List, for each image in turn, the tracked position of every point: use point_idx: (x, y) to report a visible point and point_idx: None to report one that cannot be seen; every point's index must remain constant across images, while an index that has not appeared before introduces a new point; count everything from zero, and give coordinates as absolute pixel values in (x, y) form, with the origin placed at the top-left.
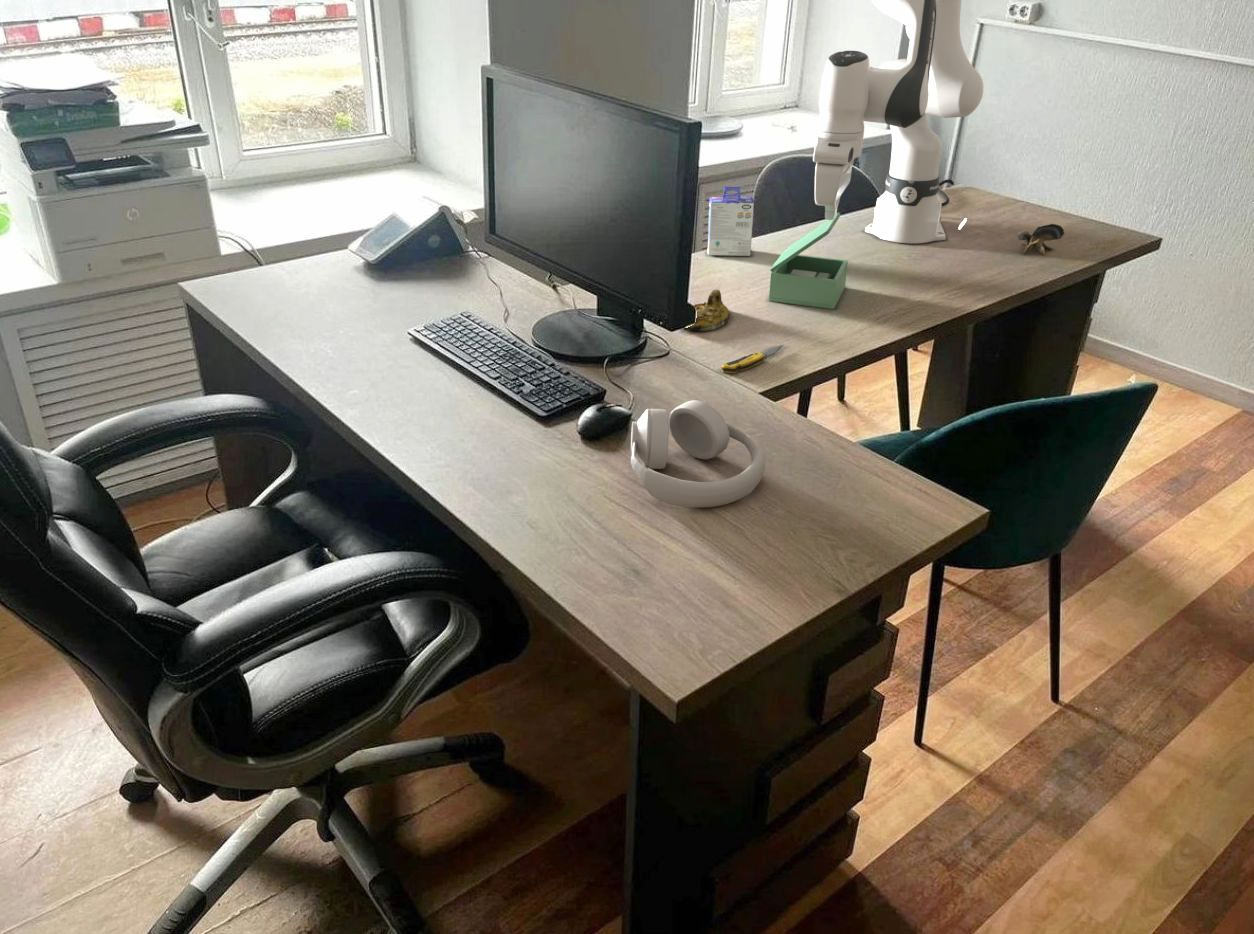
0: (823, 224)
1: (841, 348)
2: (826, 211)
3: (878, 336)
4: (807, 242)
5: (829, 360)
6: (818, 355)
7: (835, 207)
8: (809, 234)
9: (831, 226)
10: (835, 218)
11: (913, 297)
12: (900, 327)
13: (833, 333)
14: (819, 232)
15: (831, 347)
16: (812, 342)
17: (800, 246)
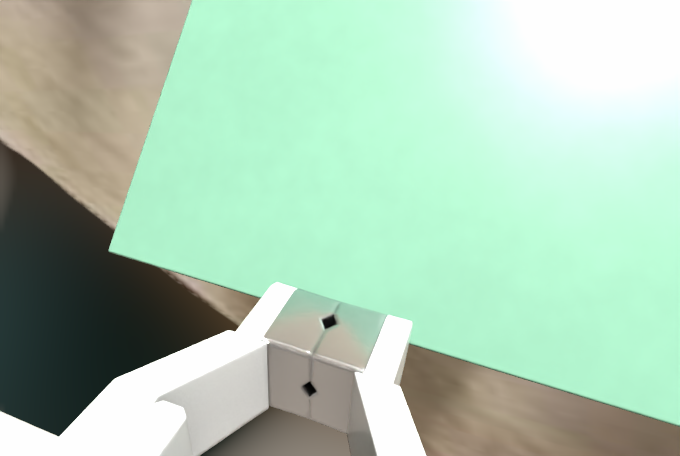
0: (593, 235)
1: (72, 154)
2: (244, 331)
3: None
4: (226, 86)
5: (2, 124)
6: (8, 98)
7: (225, 427)
8: (605, 83)
9: (240, 291)
10: (453, 356)
11: (491, 380)
12: (253, 300)
13: (143, 138)
14: (279, 189)
15: (64, 130)
16: (62, 80)
17: (282, 25)
